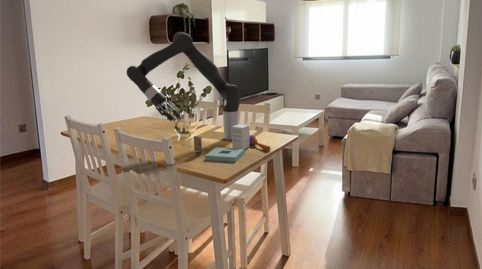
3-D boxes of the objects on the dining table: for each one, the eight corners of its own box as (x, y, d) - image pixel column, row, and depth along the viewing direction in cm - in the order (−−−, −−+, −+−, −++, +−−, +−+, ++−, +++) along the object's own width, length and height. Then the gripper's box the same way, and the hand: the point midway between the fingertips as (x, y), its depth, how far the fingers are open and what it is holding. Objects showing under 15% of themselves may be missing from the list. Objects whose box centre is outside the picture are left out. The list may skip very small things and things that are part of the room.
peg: (196, 153, 208) (195, 135, 206) (203, 154, 207) (202, 136, 205) (193, 155, 205) (192, 137, 202) (200, 156, 203) (199, 137, 201)
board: (215, 151, 211) (215, 147, 211) (244, 153, 207) (244, 148, 206) (205, 160, 196) (205, 155, 196) (235, 162, 192) (235, 157, 191)
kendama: (262, 145, 207) (243, 136, 223) (264, 155, 209) (244, 145, 225) (271, 142, 210) (251, 132, 226) (273, 152, 212) (253, 142, 228)
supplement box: (239, 145, 224) (238, 123, 221) (250, 147, 219) (249, 125, 217) (231, 148, 218) (231, 126, 215) (242, 150, 214) (242, 127, 211)
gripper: (152, 92, 199) (174, 116, 198) (165, 90, 212) (185, 111, 211) (144, 102, 201) (165, 125, 201) (157, 99, 215) (177, 120, 214)
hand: (175, 118), depth 206 cm, fingers open, 8 cm apart
